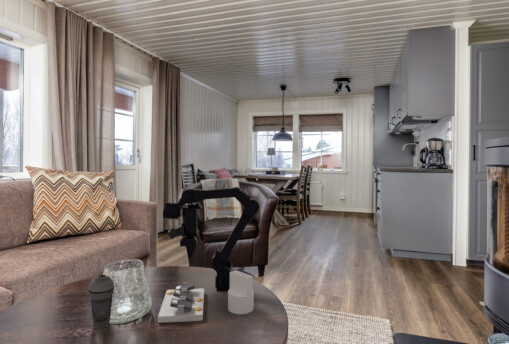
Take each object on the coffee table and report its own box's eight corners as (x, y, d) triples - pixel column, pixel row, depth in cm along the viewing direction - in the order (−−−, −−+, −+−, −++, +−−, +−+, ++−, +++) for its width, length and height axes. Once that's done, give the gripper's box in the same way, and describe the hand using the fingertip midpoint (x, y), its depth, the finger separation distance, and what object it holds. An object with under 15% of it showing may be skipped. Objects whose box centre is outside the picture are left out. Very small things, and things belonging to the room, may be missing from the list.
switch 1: (195, 284, 121) (194, 282, 121) (194, 289, 117) (193, 286, 117) (176, 288, 120) (176, 285, 120) (175, 293, 116) (174, 290, 116)
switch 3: (191, 305, 107) (192, 302, 107) (191, 310, 103) (192, 307, 103) (171, 300, 106) (172, 297, 106) (169, 306, 102) (170, 303, 102)
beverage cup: (104, 332, 94) (104, 266, 94) (82, 329, 96) (82, 264, 95) (119, 320, 102) (119, 258, 101) (99, 318, 103) (99, 257, 102)
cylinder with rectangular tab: (222, 308, 111) (222, 274, 111) (240, 300, 118) (241, 268, 117) (240, 316, 105) (241, 281, 105) (258, 308, 112) (259, 274, 111)
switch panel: (204, 293, 123) (204, 281, 123) (202, 320, 102) (202, 305, 102) (167, 294, 121) (167, 282, 121) (157, 322, 100) (157, 307, 100)
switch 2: (192, 297, 114) (193, 295, 114) (191, 302, 110) (193, 299, 110) (174, 290, 113) (175, 288, 113) (172, 295, 109) (174, 292, 109)
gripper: (172, 215, 136) (172, 251, 136) (166, 224, 117) (165, 266, 118) (198, 215, 137) (198, 251, 138) (196, 224, 119) (196, 265, 119)
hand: (189, 258), depth 128 cm, fingers closed
